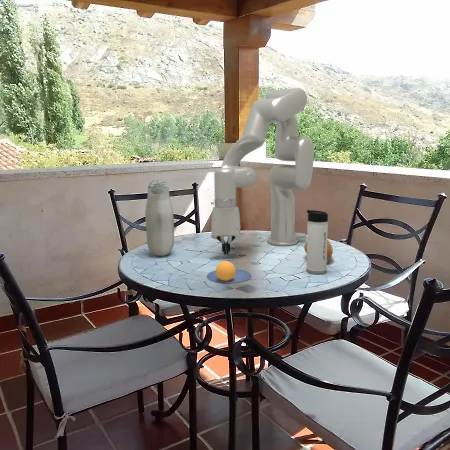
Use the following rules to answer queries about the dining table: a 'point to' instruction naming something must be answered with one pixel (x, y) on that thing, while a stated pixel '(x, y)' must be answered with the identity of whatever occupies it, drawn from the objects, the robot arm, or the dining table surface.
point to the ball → (225, 271)
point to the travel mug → (317, 242)
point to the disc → (239, 277)
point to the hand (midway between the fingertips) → (226, 253)
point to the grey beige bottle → (159, 219)
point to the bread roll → (329, 250)
